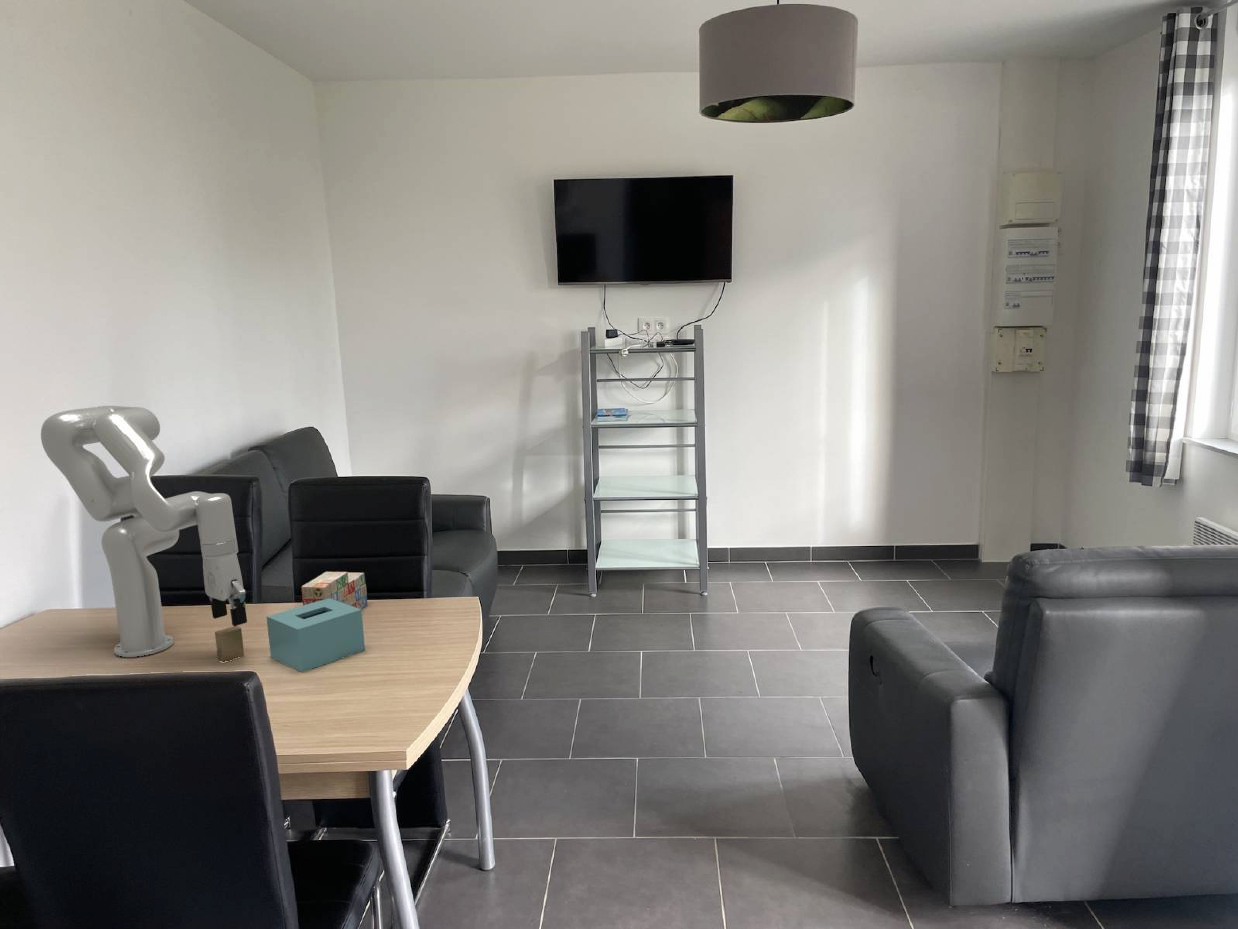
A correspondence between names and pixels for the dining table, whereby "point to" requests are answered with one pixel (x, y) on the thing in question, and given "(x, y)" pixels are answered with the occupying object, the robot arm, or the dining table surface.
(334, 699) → the dining table surface
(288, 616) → the coin box
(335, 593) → the stack of blocks
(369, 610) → the dining table surface
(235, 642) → the tan flat block
